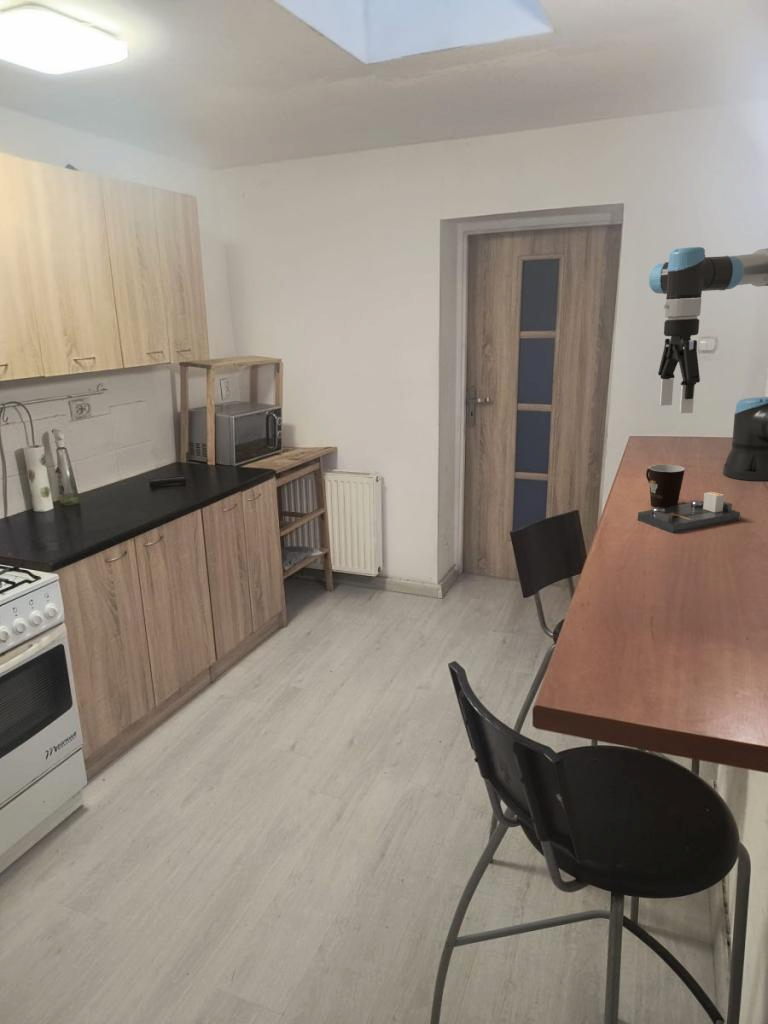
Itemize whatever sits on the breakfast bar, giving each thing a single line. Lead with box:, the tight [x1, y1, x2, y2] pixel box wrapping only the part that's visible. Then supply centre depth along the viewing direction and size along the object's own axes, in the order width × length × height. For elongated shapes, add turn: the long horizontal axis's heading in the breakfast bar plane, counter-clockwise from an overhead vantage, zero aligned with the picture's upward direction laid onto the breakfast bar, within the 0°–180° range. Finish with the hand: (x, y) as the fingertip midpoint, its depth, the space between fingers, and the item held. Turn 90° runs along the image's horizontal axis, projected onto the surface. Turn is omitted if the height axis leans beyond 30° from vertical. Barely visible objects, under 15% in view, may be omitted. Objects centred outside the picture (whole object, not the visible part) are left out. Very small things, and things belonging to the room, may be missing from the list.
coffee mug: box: [645, 463, 686, 508], centre depth 174 cm, size 12×9×10 cm
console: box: [637, 499, 741, 534], centre depth 161 cm, size 20×12×4 cm, turn 110°
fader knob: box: [703, 491, 725, 512], centre depth 161 cm, size 2×4×4 cm, turn 21°
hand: (675, 409), depth 162 cm, fingers open, 13 cm apart
